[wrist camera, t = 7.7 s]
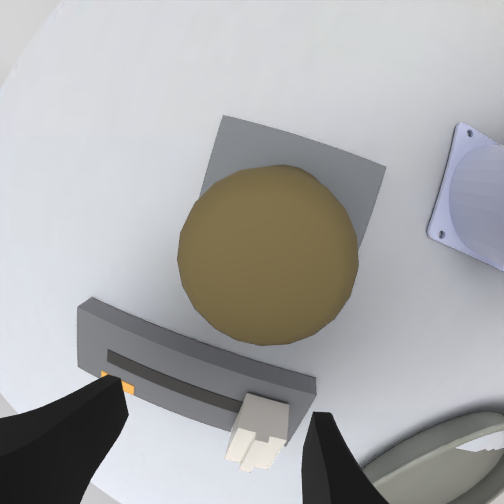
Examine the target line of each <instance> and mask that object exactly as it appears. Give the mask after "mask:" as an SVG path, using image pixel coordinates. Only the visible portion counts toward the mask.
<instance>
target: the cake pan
mask: <svg viewBox="0 0 504 504" xmlns="http://www.w3.org/2000/svg"><path fill="white" fill-rule="evenodd" d="M503 430H504V415H502V414H500V413H497V412H478V413H473V414H468V415H464V416H461V417H457V418H454V419H451V420H448V421H446V422H443V423H441V424H438V425H436V426H433V427H431V428H429V429H427V430H424V431H422V432H420V433H418V434H416V435H414V436H412V437H410V438H409V439H407V440H405V441H403V442H401V443H400V444H398V445H396V446H394V447H393V448H391V449H389V450H388V451H386V452H385V453H383V454H382V455H380V456H379V457H377V458H376V459H375V460H373V461H372V462H371V463H369V464H368V465H367V466H366V467H364V468H363V469H362V471H363V472H364V473H365V475H366V476H367V478H368V479H369V480H370V482H371V483H372V484H373V486H374V487H375V488H376V489H377V490H378V492H379V493H380V494H381V495H382V496H383V497H384V498H385V499H386V500H387V501H388V503H389V504H489V503H491V502H492V501H493V500H495V499H496V498H497V497H498V496H499V495H500V494H501V493H503V492H504V448H502V449H499V450H494V449H492V450H490V451H487V450H486V449H484V450H481V451H478V452H471V451H466V450H461V449H456V448H455V447H458V446H460V445H462V444H465V443H467V442H469V441H472V440H474V439H477V438H480V437H482V436H485V435H488V434H492V433H495V432H499V431H503Z"/></svg>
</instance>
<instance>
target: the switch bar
mask: <svg viewBox="0 0 504 504" xmlns="http://www.w3.org/2000/svg"><path fill="white" fill-rule="evenodd" d="M77 360H78V367H79V368H81V369H83V370H84V371H86V372H88V373H90V374H92V375H94V376H96V377H97V378H101V377H103V376H105V375H107V374H109V375H112V376H116V377H119V378H121V381H122V386H123V391H125V392H127V393H130V394H132V395H134V396H136V397H139V398H141V399H143V400H145V401H148V402H150V403H152V404H155V405H157V406H159V407H162V408H164V409H167V410H169V411H172V412H174V413H177V414H180V415H182V416H185V417H187V418H190V419H193V420H196V421H199V422H201V423H204V424H207V425H210V426H213V427H216V428H219V429H223V430H226V431H229V432H232V429H233V425H234V423H235V420H236V418H237V416H238V413H239V411H240V408H241V406H242V404H243V401H244V399H245V396H246V394H247V393H249V394H252V395H256V396H259V397H263V398H266V399H270V400H273V401H277V402H281V403H284V404H288V405H289V418H288V433H287V441H286V443H285V444H284V446H285V447H286V445H287V444H288V442H289V441H290V439H291V437H292V436H293V434H294V433H295V431H296V429H297V428H298V426H299V424H300V423H301V421H302V419H303V418H304V416H305V414H306V413H307V411H308V409H309V408H310V406H311V404H312V402H313V401H314V399H315V397H316V395H317V394H316V378H314V377H310V376H306V375H302V374H299V373H295V372H291V371H288V370H284V369H281V368H277V367H274V366H271V365H267V364H264V363H261V362H258V361H254V360H251V359H248V358H245V357H242V356H239V355H236V354H233V353H230V352H227V351H224V350H221V349H218V348H215V347H212V346H209V345H206V344H204V343H201V342H198V341H195V340H193V339H190V338H187V337H185V336H182V335H179V334H177V333H174V332H171V331H169V330H166V329H164V328H161V327H159V326H156V325H154V324H151V323H149V322H147V321H144V320H142V319H139V318H137V317H135V316H132V315H130V314H128V313H125V312H123V311H121V310H118V309H116V308H114V307H112V306H110V305H107V304H105V303H103V302H101V301H99V300H96V299H94V298H90V299H89V300H87V301H85V302H84V303H82V304H81V305H79V306H78V307H77Z"/></svg>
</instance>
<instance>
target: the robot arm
mask: <svg viewBox="0 0 504 504" xmlns="http://www.w3.org/2000/svg"><path fill="white" fill-rule="evenodd" d="M467 130H468V131H469V132H470V137H469V136H468V135H467ZM440 231H442V232H443V235H442V237H440V238H439V236H438V235H439V232H440ZM427 234H428V236H429V237H430V238H431V239H433V240H435V241H438V242H440V243H442V244H445V245H447V246H449V247H451V248H454V249H456V250H458V251H460V252H463V253H465V254H467V255H469V256H471V257H474V258H476V259H478V260H480V261H482V262H484V263H486V264H489V265H491V266H493V267H495V268H497V269H499V270H501V271H503V272H504V145H499V144H498V143H496V142H495V141H493V140H492V139H490V138H488V137H487V136H485V135H484V134H482V133H481V132H479V131H477V130H476V129H474V128H472V127H471V126H469V125H467V124H466V123H458V124H457V126H456V129H455V134H454V138H453V143H452V147H451V151H450V155H449V159H448V163H447V167H446V171H445V174H444V178H443V182H442V185H441V188H440V192H439V195H438V198H437V202H436V205H435V208H434V211H433V214H432V217H431V220H430V223H429V226H428V229H427ZM128 415H129V414H128V409H127V405H126V400H125V396H124V391H123V386H122V381H121V378H119V377H116V376H112V375H109V374H107V375H105V376H103V377H101V378H99V379H97V380H96V381H94V382H92V383H90V384H88V385H86V386H84V387H83V388H81V389H79V390H77V391H75V392H73V393H71V394H69V395H67V396H65V397H63V398H61V399H59V400H56V401H54V402H52V403H50V404H47V405H45V406H43V407H40V408H37V409H34V410H31V411H28V412H25V413H22V414H18V415H13V416H9V417H4V418H0V504H80V502H81V500H82V497H83V495H84V493H85V491H86V489H87V486H88V484H89V482H90V480H91V478H92V477H93V475H94V473H95V471H96V470H97V468H98V467H99V465H100V464H101V462H102V461H103V459H104V458H105V456H106V455H107V453H108V452H109V450H110V449H111V447H112V446H113V444H114V443H115V441H116V440H117V438H118V437H119V435H120V433H121V431H122V429H123V427H124V425H125V422H126V420H127V418H128ZM301 472H302V495H303V504H389V503H388V501H387V500H386V499H385V498H384V497H383V496H382V495H381V494H380V493H379V492H378V490H377V489H376V488H375V487H374V486H373V484H372V483H371V482H370V480H369V479H368V478H367V476H366V475H365V473H364V472H363V471H362V469H361V468H360V466H359V465H358V463H357V462H356V460H355V458H354V457H353V455H352V453H351V452H350V450H349V448H348V446H347V445H346V443H345V441H344V439H343V437H342V435H341V433H340V431H339V429H338V427H337V425H336V422H335V420H334V418H333V415H332V414H331V413H330V412H313V414H312V418H311V421H310V425H309V429H308V432H307V436H306V439H305V442H304V446H303V456H302V469H301Z"/></svg>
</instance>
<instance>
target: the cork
mask: <svg viewBox="0 0 504 504" xmlns="http://www.w3.org/2000/svg"><path fill="white" fill-rule="evenodd" d="M177 261H178V267H179V272H180V277H181V282H182V286H183V288H184V290H185V292H186V293H187V295H188V297H189V299H190V301H191V303H192V304H193V306H194V308H195V309H196V310H197V311H198V312H199V313H200V314H201V315H202V316H203V317H204V318H205V319H206V320H207V321H208V322H209V323H210V324H211V325H212V326H213V327H214V328H215V329H217V330H219V331H220V332H222V333H224V334H226V335H228V336H230V337H231V338H233V339H235V340H237V341H242V342H246V343H250V344H255V345H260V346H266V345H283V344H290V343H293V342H296V341H298V340H301V339H304V338H307V337H309V336H312V335H314V334H315V333H317V332H318V331H319V330H321V329H322V328H323V327H325V326H326V325H327V324H329V323H330V322H331V321H332V320H334V319H335V318H336V316H337V315H338V313H339V312H340V310H341V309H342V308H343V306H344V305H345V303H346V302H347V300H348V299H349V297H350V295H351V292H352V288H353V285H354V281H355V278H356V274H357V271H358V265H359V264H358V244H357V235H356V233H355V230H354V228H353V225H352V223H351V220H350V218H349V215H348V213H347V210H346V209H345V208H344V206H343V205H342V204H341V203H340V202H339V201H338V199H337V198H336V197H335V196H334V195H333V194H332V193H331V191H330V190H329V189H328V188H327V187H326V186H324V185H322V184H321V183H320V182H319V181H318V180H317V179H316V178H315V177H314V176H313V175H312V174H310V173H308V172H306V171H305V170H303V169H301V168H299V167H294V166H289V165H284V164H282V165H273V166H265V167H258V168H250V169H243V170H239V171H237V172H235V173H233V174H231V175H229V176H227V177H225V178H223V179H221V180H219V181H217V182H215V183H214V184H213V185H212V186H211V187H210V188H209V189H208V190H207V191H206V192H205V193H204V194H203V195H202V196H201V197H200V198H199V199H198V200H197V201H196V202H195V204H194V205H193V207H192V209H191V211H190V214H189V216H188V218H187V220H186V222H185V224H184V226H183V228H182V230H181V232H180V240H179V248H178V256H177Z"/></svg>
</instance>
